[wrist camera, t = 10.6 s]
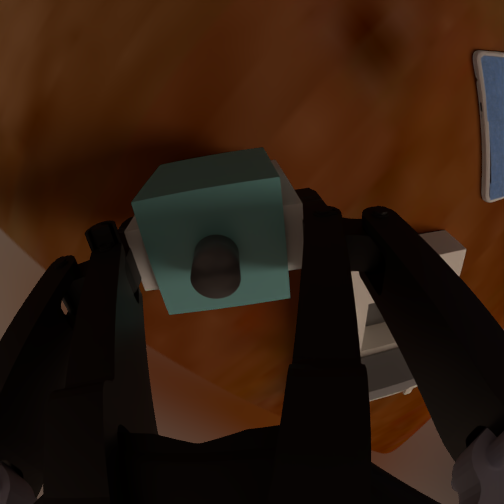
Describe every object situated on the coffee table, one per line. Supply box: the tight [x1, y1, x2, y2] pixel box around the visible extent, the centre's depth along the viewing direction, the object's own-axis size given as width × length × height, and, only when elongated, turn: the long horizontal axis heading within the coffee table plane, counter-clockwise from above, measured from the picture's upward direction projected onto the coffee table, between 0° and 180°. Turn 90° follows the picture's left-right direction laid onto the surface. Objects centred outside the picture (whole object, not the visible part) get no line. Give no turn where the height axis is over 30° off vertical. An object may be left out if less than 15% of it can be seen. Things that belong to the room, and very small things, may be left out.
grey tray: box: [351, 230, 466, 401], centre depth 23 cm, size 17×11×4 cm, turn 7°
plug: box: [131, 147, 290, 315], centre depth 14 cm, size 5×5×10 cm
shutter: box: [361, 348, 417, 401], centre depth 22 cm, size 6×6×3 cm
